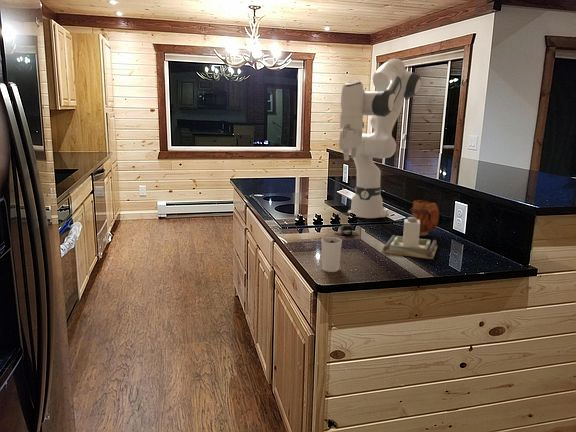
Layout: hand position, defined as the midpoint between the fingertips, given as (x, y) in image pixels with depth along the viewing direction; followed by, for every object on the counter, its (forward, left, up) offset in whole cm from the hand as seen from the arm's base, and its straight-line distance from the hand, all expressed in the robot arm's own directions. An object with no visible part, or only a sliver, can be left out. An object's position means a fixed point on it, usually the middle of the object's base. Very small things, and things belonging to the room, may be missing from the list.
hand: (349, 159), depth 188 cm
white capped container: (+12, +28, -30) cm, 43 cm away
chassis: (+12, +28, -31) cm, 43 cm away
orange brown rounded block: (-8, +30, -31) cm, 44 cm away
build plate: (+2, 0, -32) cm, 32 cm away
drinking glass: (+43, +7, -31) cm, 54 cm away
